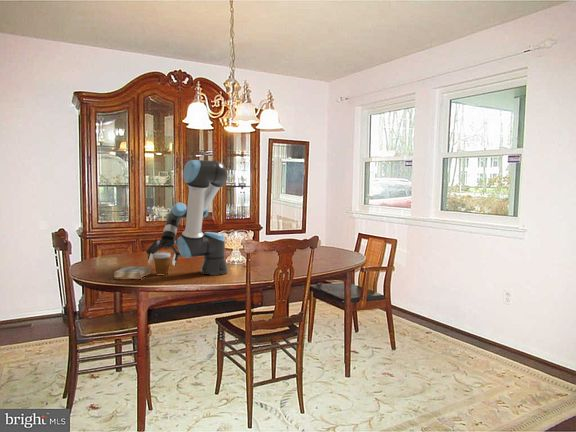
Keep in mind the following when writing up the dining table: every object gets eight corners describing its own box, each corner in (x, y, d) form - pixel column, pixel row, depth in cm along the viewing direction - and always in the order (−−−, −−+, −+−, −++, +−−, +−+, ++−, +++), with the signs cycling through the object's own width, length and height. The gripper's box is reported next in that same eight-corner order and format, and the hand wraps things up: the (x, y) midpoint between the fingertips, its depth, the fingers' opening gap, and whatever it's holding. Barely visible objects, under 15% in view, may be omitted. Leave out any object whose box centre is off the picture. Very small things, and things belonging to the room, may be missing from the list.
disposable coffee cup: (161, 277, 233) (161, 255, 231) (149, 274, 238) (149, 253, 236) (174, 273, 241) (174, 252, 240) (162, 271, 246) (162, 251, 244)
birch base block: (149, 274, 239) (149, 266, 239) (140, 280, 225) (140, 272, 225) (125, 273, 240) (125, 266, 240) (114, 279, 226) (114, 271, 226)
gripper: (191, 238, 254) (184, 268, 240) (150, 237, 255) (140, 267, 241) (189, 230, 248) (181, 261, 235) (146, 229, 249) (137, 260, 236)
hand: (161, 264), depth 238 cm, fingers open, 13 cm apart
